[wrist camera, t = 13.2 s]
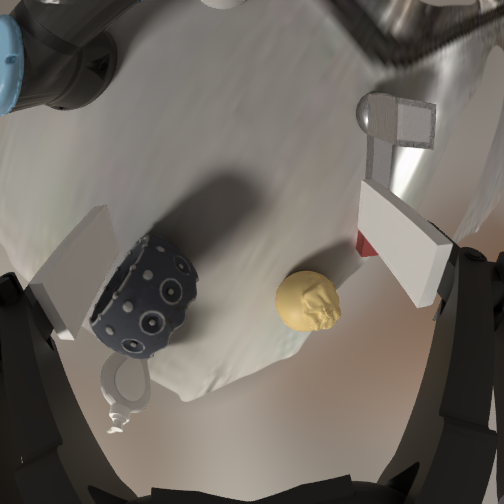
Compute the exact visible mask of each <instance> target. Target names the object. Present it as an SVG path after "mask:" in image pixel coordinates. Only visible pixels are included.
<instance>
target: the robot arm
mask: <svg viewBox="0 0 504 504" xmlns="http://www.w3.org/2000/svg"><path fill="white" fill-rule="evenodd" d="M142 1H143V0H21V1H20V2H19V3H18V4H17V6H16V7H15V8H14V9H13V10H12V11H11V13H10V14H9V15H6V14H3V15H0V116H3V115H6V114H8V113H11V112H14V111H18V110H22V109H26V108H30V107H34V106H38V105H43V104H44V105H47V106H49V107H51V108H54V109H57V110H73V109H78V108H81V107H84V106H86V105H88V104H90V103H91V102H93V101H94V100H95V99H96V98H98V97H99V96H100V95H101V94H102V92H103V91H104V90H105V89H106V87H107V86H108V84H109V83H110V81H111V79H112V76H113V74H114V71H115V67H116V62H117V49H116V45H115V42H114V40H113V38H112V37H111V35H110V34H109V33H108V32H107V31H106V30H104V29H105V28H106V27H107V26H109V25H110V24H111V23H112V22H113V21H115V20H116V19H117V18H118V17H119V16H121V15H122V14H123V13H125V12H126V11H127V10H128V9H130V8H131V7H132V6H134V5H135V4H137V3H138V2H142ZM357 228H358V229H359V230H360V232H361V233H362V234H363V235H364V237H365V238H366V239H367V240H368V242H369V243H370V244H371V245H372V247H373V248H374V249H375V250H376V252H377V253H378V254H379V256H380V257H381V258H382V259H383V261H384V262H385V263H386V265H387V266H388V267H389V269H390V270H391V272H392V273H393V274H394V276H395V277H396V278H397V280H398V281H399V283H400V284H401V285H402V287H403V288H404V290H405V291H406V292H407V294H408V295H409V297H410V298H411V300H412V301H413V302H414V304H415V305H416V307H417V308H420V307H425V306H429V305H432V304H433V301H434V299H435V296H436V294H437V292H438V294H439V295H440V296H441V298H442V299H441V302H440V304H439V307H438V309H437V312H436V314H435V316H434V318H433V320H434V321H435V320H436V325H435V330H434V335H433V340H432V344H431V348H430V353H429V357H428V361H427V365H426V368H425V372H424V376H423V380H422V383H421V386H420V389H419V393H418V396H417V399H416V402H415V405H414V408H413V410H412V414H411V416H410V419H409V421H408V424H407V427H406V430H405V432H404V434H403V437H402V439H401V442H400V444H399V446H398V449H397V451H396V453H395V455H394V457H393V458H392V460H391V461H390V463H389V464H388V465H387V467H386V468H385V470H384V471H383V473H382V475H381V476H380V478H379V480H378V481H377V483H371V482H363V481H351V477H350V474H349V475H345V476H341V477H337V478H333V479H328V480H323V481H319V482H314V483H308V484H302V485H299V486H297V487H294V488H292V489H289V490H287V491H283V492H281V493H278V494H275V495H272V496H269V497H266V498H262V499H259V500H256V501H251V502H250V501H248V502H247V501H240V500H235V499H230V498H225V497H220V496H215V495H211V494H207V493H203V492H199V491H183V490H171V489H160V488H152V489H151V495H148V496H144V497H139V498H138V497H137V496H136V494H135V493H134V492H133V491H132V490H131V489H130V488H129V487H128V486H127V485H126V484H124V482H122V481H121V479H120V478H119V477H118V476H117V474H116V473H115V471H114V470H113V468H112V466H111V465H110V463H109V462H108V460H107V458H106V457H105V455H104V453H103V451H102V450H101V448H100V446H99V445H98V443H97V441H96V439H95V437H94V435H93V433H92V431H91V430H90V427H89V425H88V424H87V421H86V419H85V418H84V415H83V413H82V411H81V409H80V407H79V405H78V403H77V400H76V398H75V395H74V393H73V391H72V388H71V386H70V383H69V381H68V379H67V376H66V373H65V371H64V368H63V365H62V362H61V359H60V357H59V354H58V351H57V348H56V345H55V342H54V340H53V339H52V337H51V336H50V335H51V333H52V331H53V329H54V330H55V331H56V333H57V334H58V336H59V337H60V339H65V340H67V339H68V340H75V338H76V336H77V334H78V331H79V329H80V327H81V325H82V323H83V321H84V318H85V316H86V314H87V312H88V310H89V308H90V306H91V304H92V302H93V300H94V298H95V296H96V294H97V292H98V290H99V288H100V286H101V284H102V282H103V281H104V279H105V277H106V275H107V273H108V271H109V269H110V268H111V266H112V264H113V262H114V260H115V259H116V257H117V255H118V253H119V252H120V248H119V245H118V242H117V239H116V236H115V232H114V229H113V226H112V222H111V219H110V215H109V212H108V208H107V205H103V206H97V207H94V208H93V209H92V210H91V211H90V212H89V213H88V214H87V215H86V216H85V217H84V218H83V220H82V221H81V222H80V223H79V224H78V225H77V226H76V227H75V228H74V229H73V230H72V231H71V233H70V234H69V235H68V236H67V237H66V238H65V239H64V241H63V242H62V243H61V244H60V245H59V246H58V248H57V249H56V250H55V251H54V252H53V253H52V255H51V256H50V257H49V258H48V260H47V261H46V262H45V263H44V265H43V266H42V267H41V268H40V270H39V271H38V272H37V273H36V275H35V276H34V277H33V279H32V280H31V281H30V283H29V284H28V286H27V287H26V289H25V290H23V289H22V286H21V285H20V283H19V281H18V279H17V277H16V275H15V273H14V272H9V273H6V274H4V275H2V276H1V277H0V504H482V501H483V498H484V495H485V492H486V488H487V485H488V482H489V478H490V475H491V471H492V467H493V463H494V459H495V454H496V449H497V475H496V481H497V497H498V504H504V252H500V253H499V256H498V259H497V262H488V261H487V258H486V257H485V256H484V255H483V254H482V253H481V252H479V251H478V250H475V249H473V248H469V247H462V248H460V247H459V246H458V245H457V244H456V243H455V242H454V241H452V240H451V239H450V238H449V237H448V236H447V235H445V233H443V232H442V231H441V230H439V228H438V227H436V226H435V225H434V224H433V223H431V222H429V221H427V220H426V219H425V218H423V217H422V216H421V215H420V214H419V213H417V212H416V211H415V210H414V209H412V208H411V207H410V206H409V205H407V204H406V203H405V202H404V201H402V200H401V199H400V198H398V197H397V196H396V195H395V194H393V193H392V192H391V191H389V190H388V189H387V188H385V187H384V186H383V185H381V184H380V183H378V182H377V181H376V180H362V182H361V195H360V206H359V216H358V225H357ZM436 318H437V319H436ZM493 388H494V397H495V408H496V423H497V433H496V431H494V430H490V429H489V427H488V421H489V415H490V408H491V400H492V390H493ZM21 457H22V459H21ZM22 461H23V463H22Z"/></svg>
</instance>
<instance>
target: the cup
mask: <svg viewBox="0 0 504 504" xmlns="http://www.w3.org/2000/svg"><path fill="white" fill-rule="evenodd" d="M201 1H202V2H203V3H204V4H206V5H208V6H210V7H212V8H217V9H229V8H234V7H236V6H239V5H241V4H242V3H244V2H245V1H246V0H201Z"/></svg>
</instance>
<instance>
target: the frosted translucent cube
mask: <svg viewBox="0 0 504 504" xmlns="http://www.w3.org/2000/svg"><path fill="white" fill-rule="evenodd" d="M435 122H436V104H431V103H426V102H421V101H416V100H411V99H405V98H399V97H391V96H382V95H372V94H368V130H367V134H368V135H370V136H373V137H375V138H378V139H380V140H383V141H385V142H388V143H390V144H392V145H395V146H400V147H413V148H423V149H433V148H434V137H435Z"/></svg>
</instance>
